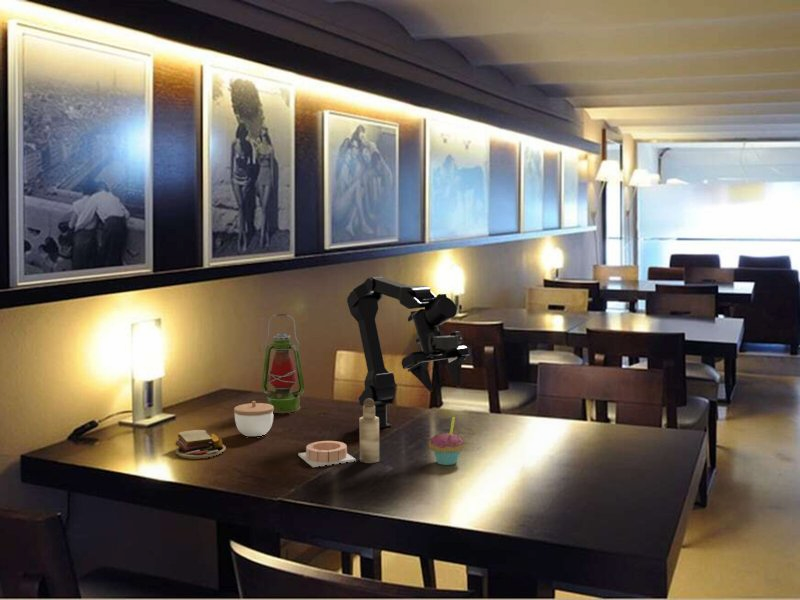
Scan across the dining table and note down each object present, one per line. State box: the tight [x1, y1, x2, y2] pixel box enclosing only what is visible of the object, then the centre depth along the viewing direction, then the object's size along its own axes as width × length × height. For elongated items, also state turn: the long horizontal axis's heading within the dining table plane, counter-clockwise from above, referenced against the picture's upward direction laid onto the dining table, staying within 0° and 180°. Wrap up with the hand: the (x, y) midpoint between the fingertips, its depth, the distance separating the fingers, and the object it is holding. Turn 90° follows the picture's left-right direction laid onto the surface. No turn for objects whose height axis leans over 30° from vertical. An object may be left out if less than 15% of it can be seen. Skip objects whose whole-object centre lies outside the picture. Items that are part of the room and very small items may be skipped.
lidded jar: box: [233, 400, 274, 437], centre depth 230 cm, size 11×11×9 cm
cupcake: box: [428, 414, 466, 466], centre depth 203 cm, size 9×8×12 cm
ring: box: [297, 440, 357, 468], centre depth 207 cm, size 11×11×3 cm
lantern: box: [261, 313, 305, 412], centre depth 258 cm, size 14×11×30 cm
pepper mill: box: [358, 398, 380, 464], centre depth 205 cm, size 5×5×16 cm
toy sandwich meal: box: [175, 429, 226, 460], centre depth 214 cm, size 12×14×5 cm
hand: (445, 388), depth 214 cm, fingers open, 9 cm apart
